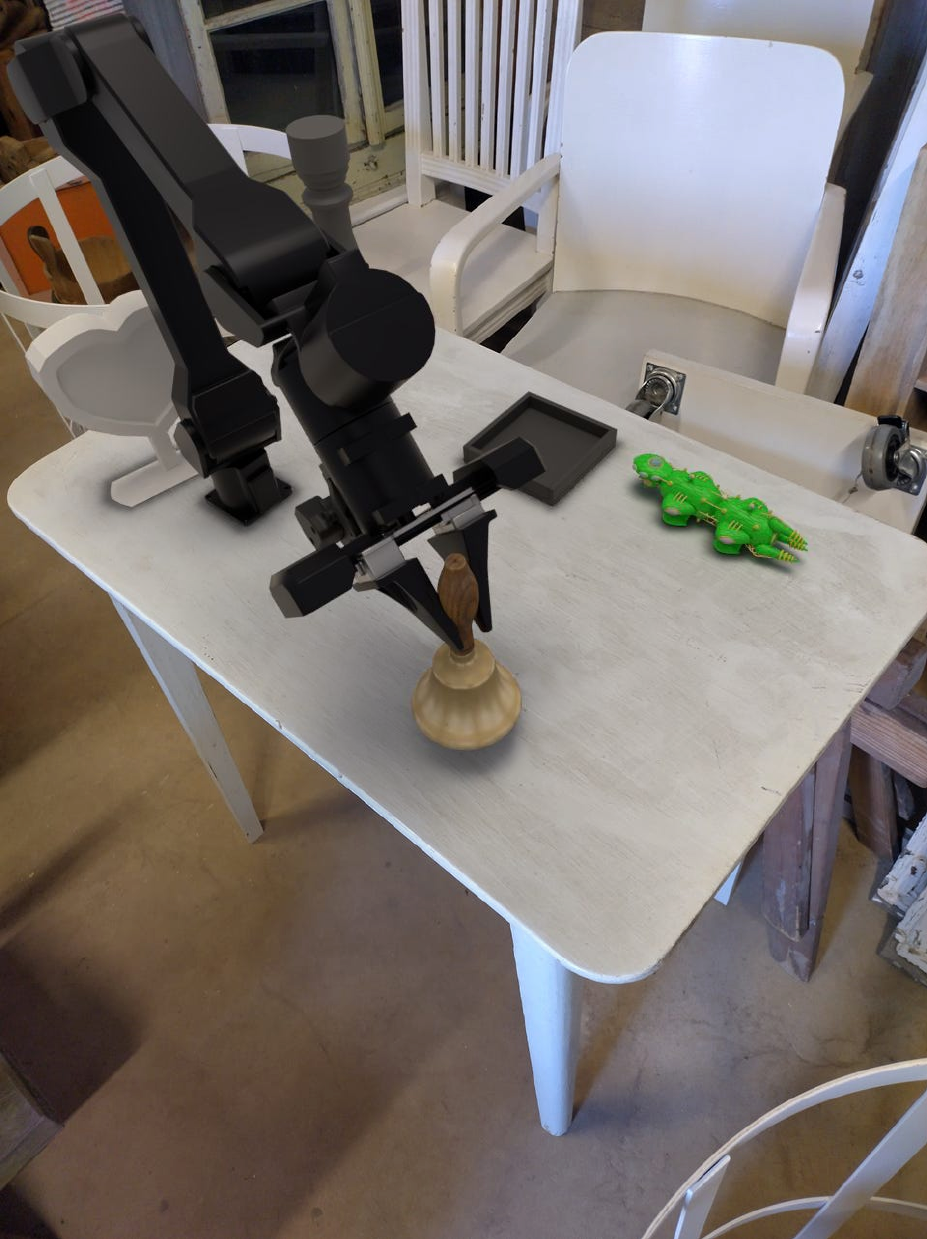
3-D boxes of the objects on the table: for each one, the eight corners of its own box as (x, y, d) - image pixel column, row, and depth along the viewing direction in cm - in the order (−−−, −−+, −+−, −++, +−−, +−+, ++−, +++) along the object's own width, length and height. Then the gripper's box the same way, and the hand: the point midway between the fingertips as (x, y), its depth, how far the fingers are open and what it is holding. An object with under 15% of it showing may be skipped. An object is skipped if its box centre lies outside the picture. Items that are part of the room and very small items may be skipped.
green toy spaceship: (651, 464, 82) (656, 429, 79) (816, 547, 74) (830, 513, 70) (611, 498, 79) (615, 464, 76) (778, 589, 71) (791, 555, 67)
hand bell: (523, 658, 63) (522, 510, 51) (520, 753, 58) (518, 615, 46) (417, 655, 64) (391, 509, 51) (405, 749, 59) (372, 612, 46)
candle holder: (342, 378, 94) (295, 146, 75) (323, 352, 98) (273, 124, 78) (391, 361, 96) (357, 129, 76) (370, 336, 99) (333, 108, 80)
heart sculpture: (113, 516, 82) (28, 359, 68) (94, 490, 84) (8, 335, 70) (248, 448, 87) (196, 290, 73) (226, 426, 90) (171, 270, 76)
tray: (463, 462, 84) (462, 446, 82) (528, 407, 89) (528, 390, 87) (552, 506, 79) (553, 490, 77) (616, 445, 84) (617, 428, 82)
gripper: (426, 397, 61) (523, 577, 64) (204, 513, 54) (323, 709, 57) (491, 349, 51) (602, 567, 54) (227, 485, 44) (371, 725, 47)
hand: (473, 640), depth 53 cm, fingers closed on hand bell
